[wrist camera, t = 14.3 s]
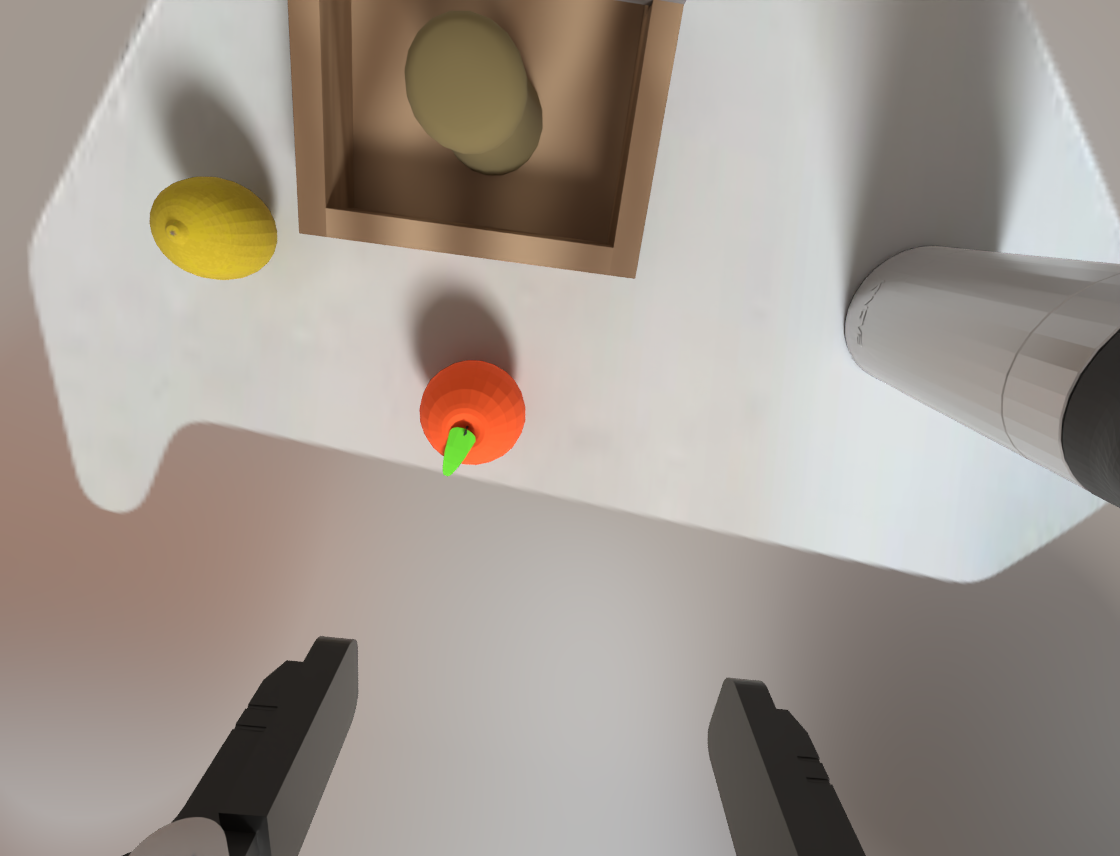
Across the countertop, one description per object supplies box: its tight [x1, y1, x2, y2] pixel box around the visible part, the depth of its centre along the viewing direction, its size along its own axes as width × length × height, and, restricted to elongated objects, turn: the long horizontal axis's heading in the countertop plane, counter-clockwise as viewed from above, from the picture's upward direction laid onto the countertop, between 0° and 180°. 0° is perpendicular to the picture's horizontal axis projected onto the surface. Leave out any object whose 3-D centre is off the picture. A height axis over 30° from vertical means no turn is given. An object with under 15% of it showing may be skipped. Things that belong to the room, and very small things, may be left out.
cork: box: [404, 11, 543, 175], centre depth 27 cm, size 6×6×11 cm
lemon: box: [150, 177, 277, 280], centre depth 31 cm, size 6×6×8 cm
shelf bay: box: [288, 0, 686, 279], centre depth 30 cm, size 19×14×6 cm
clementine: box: [420, 360, 525, 476], centre depth 36 cm, size 8×7×7 cm
